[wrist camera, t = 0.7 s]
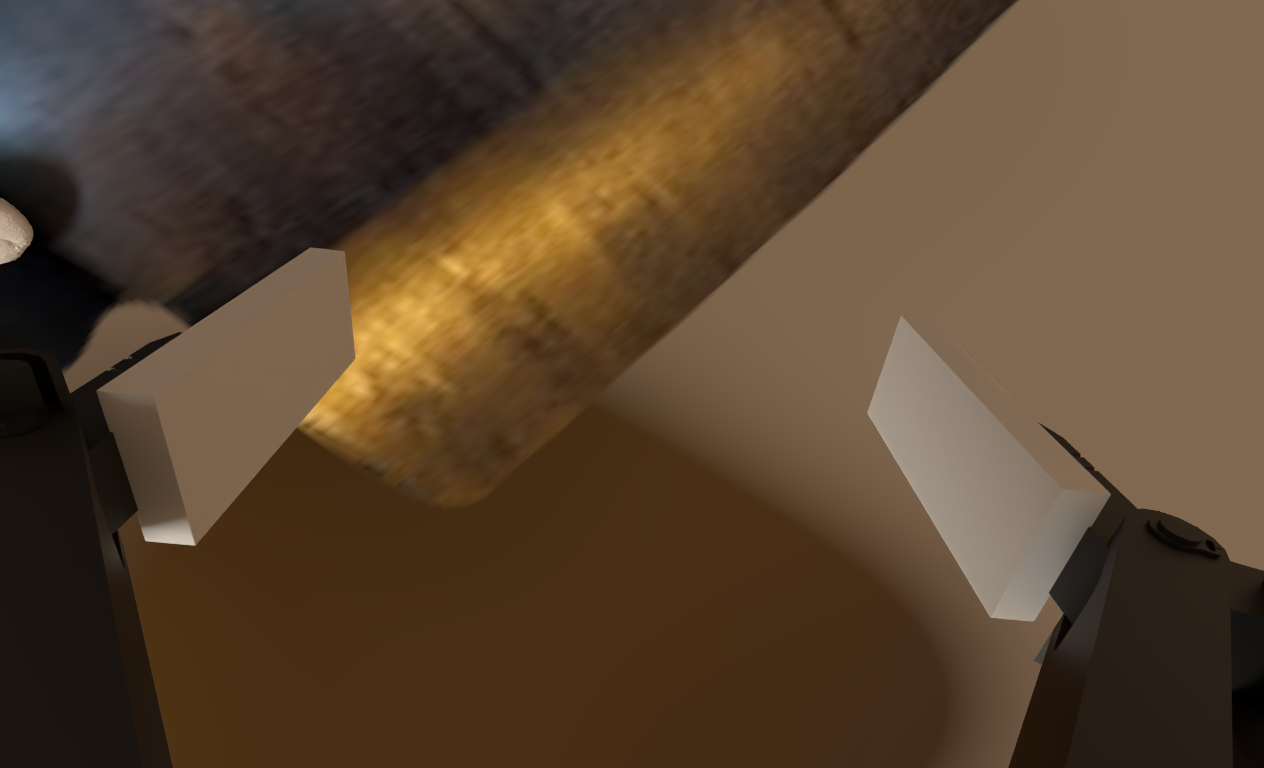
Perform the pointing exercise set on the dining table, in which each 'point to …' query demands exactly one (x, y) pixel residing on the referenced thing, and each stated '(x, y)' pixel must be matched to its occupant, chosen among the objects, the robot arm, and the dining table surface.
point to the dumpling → (13, 232)
